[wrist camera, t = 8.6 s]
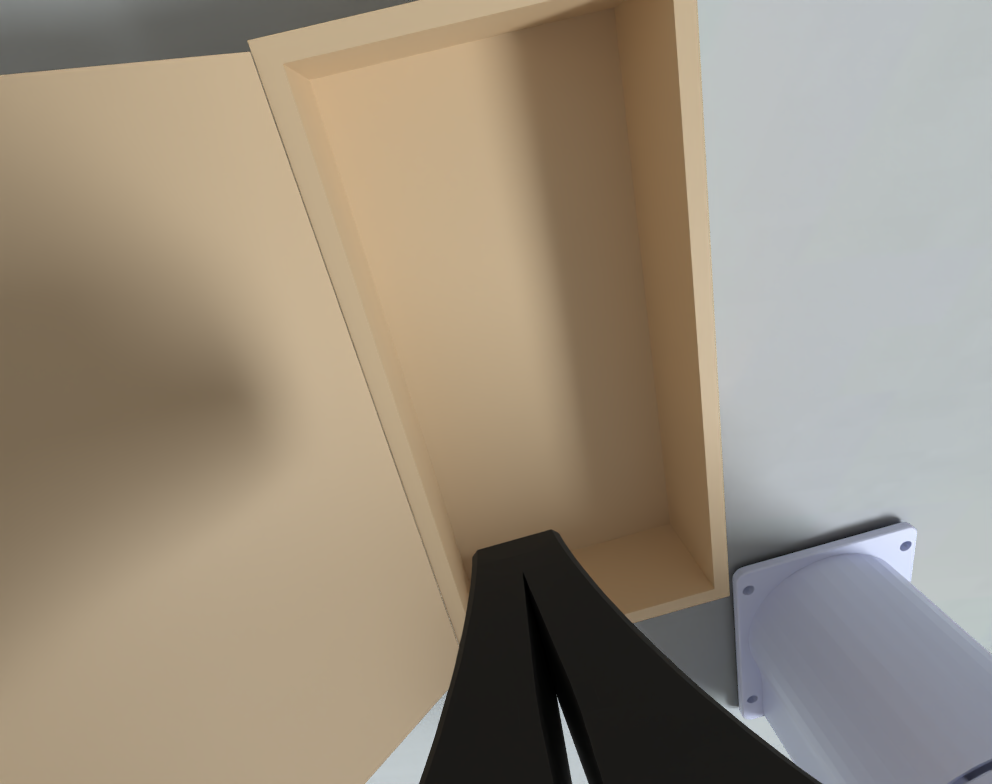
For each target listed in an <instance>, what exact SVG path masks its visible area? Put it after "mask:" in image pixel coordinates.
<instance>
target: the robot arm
mask: <svg viewBox="0 0 992 784" xmlns="http://www.w3.org/2000/svg"><path fill="white" fill-rule="evenodd" d="M916 537H917V530H916V528H915V527H913V526H912V525H911V524H910V523H907V522H901V523H897V524H894V525H890V526H887V527H883V528H880V529H876V530H873V531H869V532H865V533H862V534H858V535H855V536H851V537H848V538H844V539H841V540H837V541H833V542H830V543H826V544H823V545H819V546H816V547H812V548H808V549H805V550H801V551H798V552H794V553H791V554H787V555H784V556H780V557H776V558H773V559H769V560H766V561H762V562H759V563H755V564H752V565H748V566H744V567H742V568H739V569H738V570H737V571H736V572H735V573H734V575H733V598H734V618H735V637H736V657H737V676H738V696H739V710H740V712H741V714H742V716H743V717H744V718H745V719H755V718H758V717H762V716H765V717H766V718H767V720H768V722H769V723H770V725H771V727H772V728H773V730H774V731H775V733H776V735H777V736H778V738H779V739H780V741H781V743H782V744H783V746H784V747H785V749H786V751H787V752H788V754H789V756H790V757H791V759H792V760H793V762H794V763H793V762H792V761H790V760H789V759H788V758H786V757H785V756H784V755H783V754H781V753H780V752H779V751H777V750H776V749H775V748H774V747H772V746H771V745H770V744H768V743H767V742H766V741H765V740H763V739H762V738H761V737H759V736H758V735H757V734H756V733H754V732H753V731H752V730H751V729H749V728H748V727H747V726H746V725H744V724H743V723H742V722H741V721H739V720H738V719H737V718H736V717H735V716H733V715H732V714H731V713H730V712H729V711H727V710H726V709H725V708H724V707H723V706H721V705H720V704H719V703H718V702H716V701H715V700H714V699H713V698H712V697H711V696H709V695H708V694H707V693H706V692H705V691H704V690H703V689H701V688H700V687H699V686H698V685H697V684H696V683H695V682H693V681H692V680H691V679H690V678H689V677H688V676H687V675H686V674H685V673H683V672H682V671H681V670H680V669H679V668H678V667H677V666H676V665H675V664H674V663H673V662H672V661H671V660H670V659H668V658H667V657H666V656H665V655H664V654H663V653H662V652H661V651H660V650H659V649H658V648H657V647H656V646H655V645H654V644H653V643H652V642H651V641H650V640H649V639H648V638H647V637H646V636H645V635H644V634H643V633H642V632H641V631H640V630H639V629H638V628H637V627H636V626H635V625H634V624H633V623H632V622H631V621H630V620H629V619H628V618H627V617H626V616H625V615H624V614H623V613H622V612H621V610H620V609H619V608H618V607H617V606H616V605H615V604H614V603H613V602H612V601H611V600H610V599H609V598H608V597H607V595H606V594H605V593H604V592H603V591H602V590H601V589H600V588H599V586H598V585H597V584H596V583H595V582H594V580H593V579H592V578H591V577H590V576H589V574H588V573H587V572H586V571H585V570H584V568H583V567H582V566H581V564H580V563H579V562H578V561H577V559H576V558H575V557H574V555H573V554H572V552H571V551H570V550H569V548H568V547H567V545H566V544H565V542H564V541H563V539H562V537H561V535H560V534H559V533H558V532H556V531H554V530H552V529H550V530H547V531H543V532H540V533H536V534H533V535H529V536H525V537H522V538H518V539H515V540H511V541H508V542H504V543H500V544H497V545H493V546H490V547H486V548H483V549H479V550H477V551H476V553H475V554H474V556H473V557H472V573H471V584H470V592H469V598H468V604H467V610H466V616H465V622H464V626H463V631H462V635H461V640H460V644H459V649H458V653H457V658H456V662H455V667H454V671H453V675H452V679H451V682H450V686H449V689H448V693H447V696H446V700H445V703H444V707H443V710H442V714H441V717H440V721H439V724H438V728H437V731H436V734H435V738H434V741H433V744H432V747H431V750H430V753H429V756H428V759H427V762H426V765H425V768H424V771H423V774H422V777H421V780H420V783H419V784H572V781H571V775H570V769H569V764H568V758H567V752H566V747H565V741H564V735H563V730H562V724H561V718H560V713H559V707H558V701H557V697H558V700H559V703H560V706H561V709H562V711H563V714H564V717H565V720H566V722H567V725H568V728H569V731H570V733H571V736H572V739H573V742H574V744H575V747H576V750H577V753H578V755H579V758H580V761H581V763H582V766H583V769H584V772H585V774H586V777H587V780H588V783H589V784H992V654H991V653H990V652H989V651H987V650H986V649H985V648H984V647H983V646H982V645H981V644H980V643H978V642H977V641H976V640H975V639H974V638H973V637H972V636H970V635H969V634H968V633H967V632H966V631H965V630H964V629H963V628H961V627H960V626H959V625H958V624H957V623H956V622H955V621H953V620H952V619H951V618H950V617H949V616H948V615H947V614H945V613H944V612H943V611H942V610H941V609H940V608H939V607H938V606H936V605H935V604H934V603H933V602H932V601H931V600H930V599H928V598H927V597H926V596H925V595H924V594H923V593H922V592H921V591H919V590H918V589H917V588H916V587H915V586H914V585H913V584H911V576H912V568H913V561H914V553H915V545H916ZM556 695H557V696H556Z"/></svg>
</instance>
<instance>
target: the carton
mask: <svg viewBox="0 0 992 784" xmlns="http://www.w3.org/2000/svg"><path fill="white" fill-rule="evenodd" d="M247 41H248V44H249V47H250V50H251V53H252V55H253V58H254V61H255V64H256V67H257V70H258V73H259V75H260V78H261V81H262V84H263V87H264V90H265V93H266V95H267V98H268V101H269V104H270V107H271V110H272V113H273V115H274V118H275V121H276V124H277V127H278V130H279V133H280V135H281V138H282V141H283V144H284V147H285V150H286V153H287V155H288V158H289V161H290V164H291V167H292V170H293V173H294V175H295V178H296V181H297V184H298V187H299V190H300V193H301V195H302V198H303V201H304V204H305V207H306V210H307V213H308V215H309V218H310V221H311V224H312V227H313V230H314V233H315V235H316V238H317V241H318V244H319V247H320V250H321V252H322V255H323V258H324V261H325V264H326V267H327V270H328V272H329V275H330V278H331V281H332V284H333V287H334V290H335V292H336V295H337V298H338V301H339V304H340V307H341V310H342V312H343V315H344V318H345V321H346V324H347V327H348V330H349V332H350V335H351V338H352V341H353V344H354V347H355V350H356V352H357V355H358V358H359V361H360V364H361V367H362V370H363V372H364V375H365V378H366V381H367V384H368V387H369V390H370V392H371V395H372V398H373V401H374V404H375V407H376V410H377V412H378V415H379V418H380V421H381V424H382V427H383V430H384V432H385V435H386V438H387V441H388V444H389V447H390V450H391V452H392V455H393V458H394V461H395V464H396V467H397V469H398V472H399V475H400V478H401V481H402V484H403V487H404V489H405V492H406V495H407V498H408V501H409V504H410V507H411V509H412V512H413V515H414V518H415V521H416V524H417V527H418V529H419V532H420V535H421V538H422V541H423V544H424V547H425V549H426V552H427V555H428V558H429V561H430V564H431V567H432V569H433V572H434V575H435V578H436V581H437V584H438V587H439V589H440V592H441V595H442V598H443V601H444V604H445V607H446V609H447V612H448V615H449V618H450V621H451V624H452V627H453V629H454V632H455V635H456V638H457V641H458V644H460V640H461V635H462V631H463V626H464V622H465V616H466V610H467V604H468V598H469V592H470V584H471V573H472V557H473V556H474V554H475V553H476V551H477V550H479V549H483V548H486V547H490V546H493V545H497V544H500V543H504V542H508V541H511V540H515V539H518V538H522V537H525V536H529V535H533V534H536V533H540V532H543V531H547V530H550V529H552V530H554V531H556V532H558V533H559V534H560V535H561V537H562V539H563V541H564V542H565V544H566V545H567V547H568V548H569V550H570V551H571V552H572V554H573V555H574V557H575V558H576V559H577V561H578V562H579V563H580V564H581V566H582V567H583V568H584V570H585V571H586V572H587V573H588V574H589V576H590V577H591V578H592V579H593V580H594V582H595V583H596V584H597V585H598V586H599V588H600V589H601V590H602V591H603V592H604V593H605V594H606V595H607V597H608V598H609V599H610V600H611V601H612V602H613V603H614V604H615V605H616V606H617V607H618V608H619V609H620V610H621V612H622V613H623V614H624V615H625V616H626V617H627V618H628V619H629V620H630V621H631V622H632V623H636V622H639V621H643V620H647V619H650V618H654V617H657V616H661V615H664V614H668V613H671V612H675V611H678V610H682V609H685V608H689V607H693V606H696V605H700V604H703V603H707V602H710V601H714V600H717V599H721V598H724V597H728V596H730V591H729V573H728V555H727V536H726V518H725V500H724V482H723V464H722V446H721V427H720V409H719V391H718V373H717V355H716V336H715V318H714V300H713V282H712V264H711V245H710V227H709V209H708V191H707V173H706V154H705V136H704V118H703V100H702V82H701V64H700V45H699V27H698V9H697V0H418V1H414V2H410V3H405V4H401V5H397V6H393V7H388V8H384V9H380V10H376V11H371V12H367V13H363V14H358V15H354V16H350V17H346V18H341V19H337V20H333V21H329V22H324V23H320V24H316V25H311V26H307V27H303V28H299V29H294V30H290V31H286V32H282V33H277V34H273V35H269V36H264V37H260V38H256V39H252V40H247Z"/></svg>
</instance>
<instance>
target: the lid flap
mask: <svg viewBox="0 0 992 784" xmlns="http://www.w3.org/2000/svg"><path fill="white" fill-rule="evenodd" d="M458 649H459V645H458V643H457V640H456V637H455V634H454V631H453V628H452V625H451V623H450V620H449V617H448V614H447V611H446V608H445V606H444V603H443V600H442V597H441V594H440V591H439V588H438V586H437V583H436V580H435V577H434V574H433V571H432V569H431V566H430V563H429V560H428V557H427V554H426V551H425V549H424V546H423V543H422V540H421V537H420V534H419V531H418V529H417V526H416V523H415V520H414V517H413V514H412V512H411V509H410V506H409V503H408V500H407V497H406V494H405V492H404V489H403V486H402V483H401V480H400V477H399V474H398V472H397V469H396V466H395V463H394V460H393V457H392V455H391V452H390V449H389V446H388V443H387V440H386V437H385V435H384V432H383V429H382V426H381V423H380V420H379V417H378V415H377V412H376V409H375V406H374V403H373V400H372V398H371V395H370V392H369V389H368V386H367V383H366V380H365V378H364V375H363V372H362V369H361V366H360V363H359V360H358V358H357V355H356V352H355V349H354V346H353V343H352V341H351V338H350V335H349V332H348V329H347V326H346V323H345V321H344V318H343V315H342V312H341V309H340V306H339V303H338V301H337V298H336V295H335V292H334V289H333V286H332V284H331V281H330V278H329V275H328V272H327V269H326V266H325V264H324V261H323V258H322V255H321V252H320V249H319V246H318V244H317V241H316V238H315V235H314V232H313V229H312V227H311V224H310V221H309V218H308V215H307V212H306V209H305V207H304V204H303V201H302V198H301V195H300V192H299V189H298V187H297V184H296V181H295V178H294V175H293V172H292V170H291V167H290V164H289V161H288V158H287V155H286V152H285V150H284V147H283V144H282V141H281V138H280V135H279V133H278V130H277V127H276V124H275V121H274V118H273V115H272V113H271V110H270V107H269V104H268V101H267V98H266V95H265V93H264V90H263V87H262V84H261V81H260V78H259V76H258V73H257V70H256V67H255V64H254V61H253V58H252V56H251V53H250V52H241V53H230V54H219V55H209V56H198V57H187V58H177V59H166V60H155V61H145V62H134V63H124V64H113V65H102V66H92V67H81V68H70V69H60V70H49V71H38V72H28V73H17V74H6V75H0V784H365V783H366V782H367V781H368V780H369V779H370V777H371V776H372V775H373V774H374V773H375V772H376V771H377V769H378V768H379V767H380V766H381V765H382V764H383V763H384V762H385V760H386V759H387V758H388V757H389V756H390V755H391V754H392V752H393V751H394V750H395V749H396V748H397V747H398V746H399V745H400V743H401V742H402V741H403V740H404V739H405V738H406V737H407V735H408V734H409V733H410V732H411V731H412V730H413V729H414V728H415V726H416V725H417V724H418V723H419V722H420V721H421V720H422V718H423V717H424V716H425V715H426V714H427V713H428V712H429V711H430V709H431V708H432V707H433V706H434V705H435V704H436V703H437V701H438V700H439V699H440V698H441V697H442V696H443V695H444V694H445V692H446V691H447V690H448V689H449V686H450V682H451V679H452V675H453V671H454V667H455V662H456V658H457V653H458Z"/></svg>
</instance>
